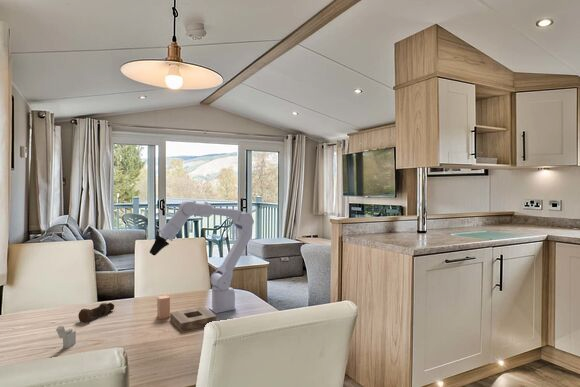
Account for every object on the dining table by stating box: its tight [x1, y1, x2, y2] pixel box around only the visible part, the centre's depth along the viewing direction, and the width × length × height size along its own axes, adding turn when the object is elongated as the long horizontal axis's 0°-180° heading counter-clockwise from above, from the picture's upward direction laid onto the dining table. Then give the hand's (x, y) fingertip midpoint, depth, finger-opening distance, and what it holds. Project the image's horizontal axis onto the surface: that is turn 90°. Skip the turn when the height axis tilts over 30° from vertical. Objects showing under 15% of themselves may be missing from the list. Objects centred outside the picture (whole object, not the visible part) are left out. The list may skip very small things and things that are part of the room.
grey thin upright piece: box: [55, 325, 77, 349], centre depth 123 cm, size 7×2×8 cm, turn 173°
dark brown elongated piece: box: [78, 302, 115, 324], centre depth 153 cm, size 6×5×15 cm
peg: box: [156, 294, 171, 320], centre depth 153 cm, size 4×4×8 cm
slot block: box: [169, 306, 218, 332], centre depth 146 cm, size 14×14×3 cm
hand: (151, 254), depth 146 cm, fingers open, 7 cm apart
